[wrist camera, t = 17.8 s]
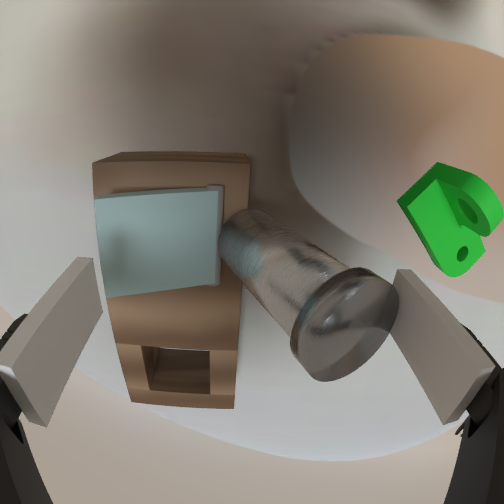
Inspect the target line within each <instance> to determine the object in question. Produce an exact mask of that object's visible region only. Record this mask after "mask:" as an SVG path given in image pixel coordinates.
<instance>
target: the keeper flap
mask: <svg viewBox="0 0 504 504" xmlns="http://www.w3.org/2000/svg"><path fill="white" fill-rule="evenodd" d="M223 199H224V185H221V184H209V185H207V187H206V188H184V189H167V190H152V191H138V192H126V193H114V194H104V195H95V197H94V207H95V219H96V229H97V239H98V247H99V255H100V263H101V269H102V276H103V282H104V288H105V294H106V298H110V297H118V296H126V295H134V294H141V293H149V292H157V291H164V290H171V289H179V288H186V287H193V286H200V285H208V286H217V285H219V284H220V269H221V256H220V253H219V250H218V239H219V235H220V232H221V230H222V219H223Z"/></svg>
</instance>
